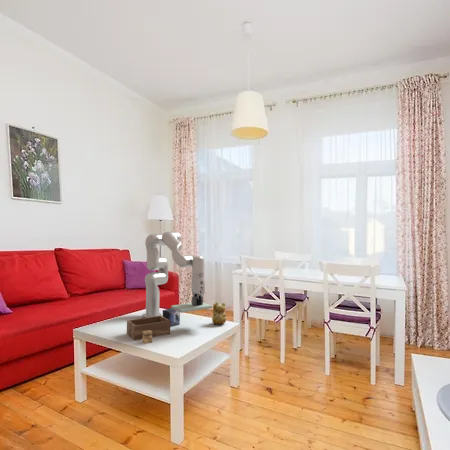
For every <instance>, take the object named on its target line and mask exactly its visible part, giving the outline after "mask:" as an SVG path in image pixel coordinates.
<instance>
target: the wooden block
mask: <svg viewBox="0 0 450 450" xmlns="http://www.w3.org/2000/svg"><path fill="white" fill-rule="evenodd" d="M142 334H143V338H142V339H141V340H142V343H143V344H144V345H147V344H151V343H153V337H152V331H150V330H146V331H143V333H142Z"/></svg>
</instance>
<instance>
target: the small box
mask: <svg viewBox="0 0 450 450" xmlns="http://www.w3.org/2000/svg"><path fill="white" fill-rule="evenodd" d="M161 316H163V317H165V318H167V319H168V320H170V321H171V322H170V328H173V327H175V326H179V325H181V323H180V321H181V319H180V318H181V312H179V311H176V310H174V309H172V308H171V307H170V308H166V309H163V310H162V314H161Z"/></svg>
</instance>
